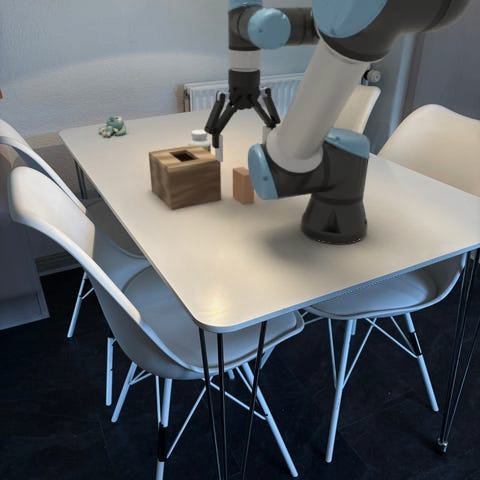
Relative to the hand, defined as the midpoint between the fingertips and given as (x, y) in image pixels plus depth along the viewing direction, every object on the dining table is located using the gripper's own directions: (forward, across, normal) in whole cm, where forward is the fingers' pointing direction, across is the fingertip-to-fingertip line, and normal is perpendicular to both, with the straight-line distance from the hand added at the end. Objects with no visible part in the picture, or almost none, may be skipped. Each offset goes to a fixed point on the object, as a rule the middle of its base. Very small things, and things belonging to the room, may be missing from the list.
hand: (243, 156), depth 125 cm
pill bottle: (+12, 0, -26) cm, 28 cm away
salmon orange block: (+12, 0, 0) cm, 12 cm away
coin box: (+12, +12, -10) cm, 19 cm away
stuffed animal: (+13, +12, -75) cm, 77 cm away
